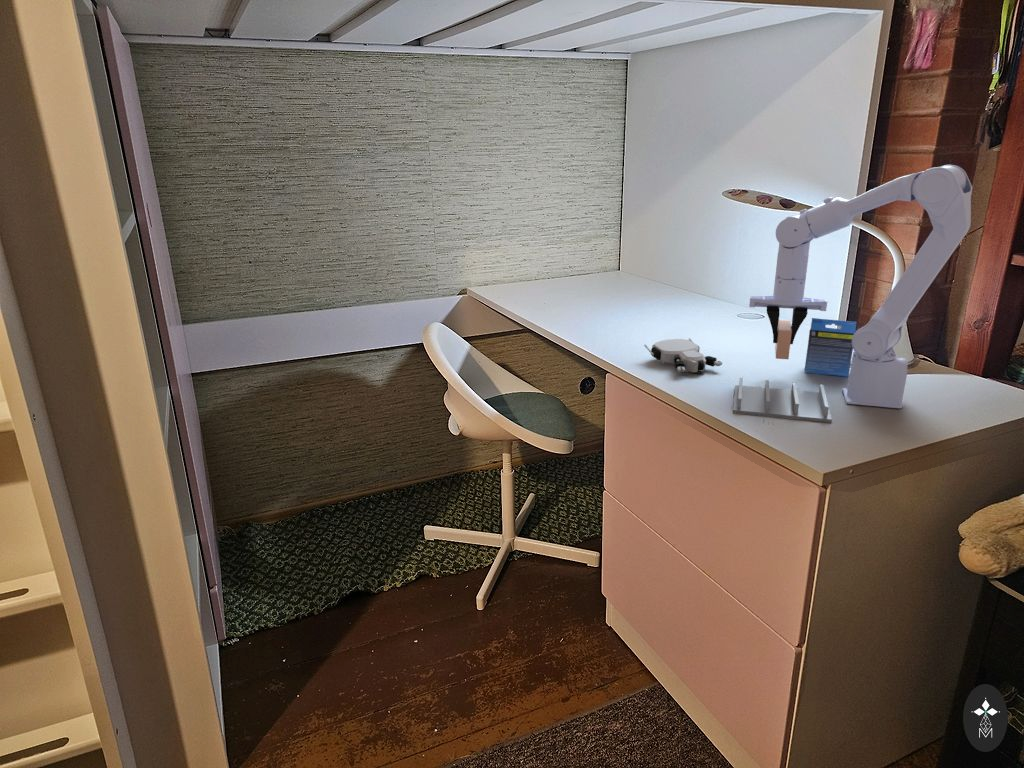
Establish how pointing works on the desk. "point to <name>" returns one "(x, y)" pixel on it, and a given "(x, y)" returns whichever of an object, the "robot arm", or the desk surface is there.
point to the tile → (783, 340)
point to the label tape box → (830, 347)
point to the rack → (781, 402)
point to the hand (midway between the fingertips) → (782, 342)
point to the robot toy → (682, 355)
